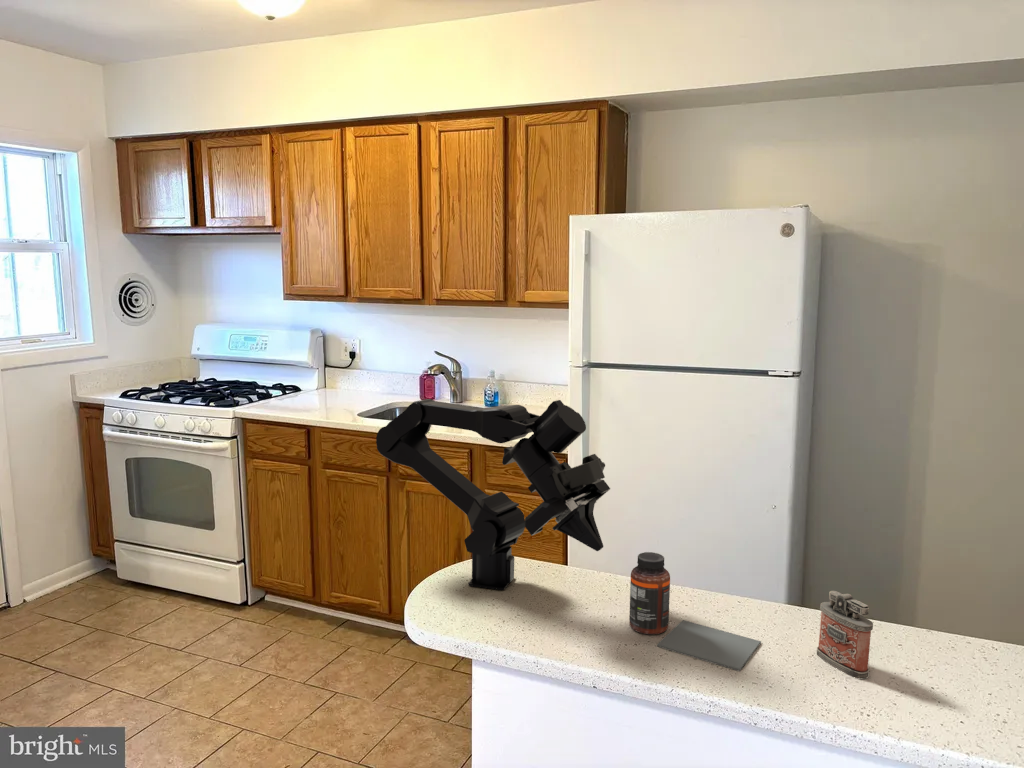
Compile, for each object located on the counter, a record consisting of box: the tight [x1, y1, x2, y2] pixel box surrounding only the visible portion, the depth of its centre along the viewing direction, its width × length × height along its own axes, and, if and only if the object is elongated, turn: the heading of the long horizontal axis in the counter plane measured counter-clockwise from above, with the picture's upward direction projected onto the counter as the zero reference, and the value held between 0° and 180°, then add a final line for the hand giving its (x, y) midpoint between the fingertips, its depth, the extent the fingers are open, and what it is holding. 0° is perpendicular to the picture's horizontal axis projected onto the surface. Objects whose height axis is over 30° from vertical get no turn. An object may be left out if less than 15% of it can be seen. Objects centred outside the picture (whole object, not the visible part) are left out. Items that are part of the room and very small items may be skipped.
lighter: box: [816, 590, 874, 679], centre depth 105 cm, size 8×3×10 cm, turn 23°
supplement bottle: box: [628, 551, 671, 635], centre depth 115 cm, size 6×6×11 cm
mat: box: [656, 619, 762, 672], centre depth 110 cm, size 12×10×1 cm
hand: (600, 549), depth 119 cm, fingers closed
